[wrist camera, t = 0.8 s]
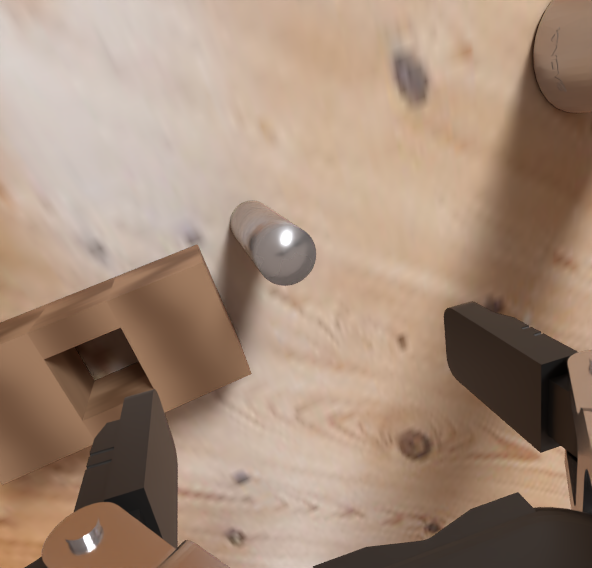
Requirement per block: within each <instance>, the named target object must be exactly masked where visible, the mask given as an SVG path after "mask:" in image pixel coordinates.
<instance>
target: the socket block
mask: <svg viewBox="0 0 592 568" xmlns="http://www.w3.org/2000/svg"><path fill="white" fill-rule="evenodd" d="M119 328H121V329H122V331H123V333H124V334H125V336H126V338H127V340H128V342H129V344H130V346H131V347H132V349H133V351H134V353H135V355H136V357H137V359H138V360H139V362H137V363H135V364H133V365H130V366H128V367H126V368H123V369H121V370H119V371H116V372H114V373H112V374H109V375H107V376H105V377H102V378H100V379H97V380H95V381H94V379H93V377H92V376H91V374H90V372H89V371H88V369H87V367H86V366H85V364H84V362H83V361H82V359H81V357H80V356H79V354H78V352H77V351H76V349H75V346H78V345H80V344H82V343H85V342H87V341H90V340H92V339H95V338H97V337H99V336H102V335H104V334H107V333H109V332H111V331H114V330H116V329H119ZM250 374H251V371H250V368H249V365H248V363H247V360H246V357H245V354H244V352H243V349H242V346H241V344H240V341H239V339H238V336H237V334H236V332H235V330H234V327H233V325H232V323H231V320H230V318H229V316H228V313H227V311H226V309H225V307H224V304H223V302H222V300H221V297H220V295H219V293H218V290H217V288H216V286H215V284H214V281H213V279H212V277H211V274H210V272H209V270H208V267H207V265H206V263H205V261H204V258H203V256H202V254H201V251H200V249H199V247H198V245H195V246H192V247H190V248H187V249H185V250H182V251H180V252H177V253H174V254H172V255H169V256H167V257H164V258H162V259H159V260H157V261H154V262H152V263H149V264H147V265H144V266H142V267H139V268H137V269H134V270H132V271H129V272H127V273H124V274H122V275H119V276H117V277H114V278H112V279H109V280H107V281H104V282H102V283H99V284H97V285H94V286H92V287H89V288H87V289H84V290H82V291H79V292H77V293H74V294H72V295H69V296H67V297H64V298H62V299H59V300H57V301H54V302H51V303H49V304H46V305H44V306H41V307H39V308H36V309H34V310H31V311H29V312H26V313H24V314H21V315H19V316H16V317H14V318H11V319H9V320H6V321H4V322H1V323H0V483H1V484H2V485H4V484H6V483H8V482H10V481H13V480H15V479H17V478H19V477H22V476H24V475H26V474H28V473H31V472H33V471H35V470H37V469H40V468H42V467H44V466H46V465H48V464H51V463H53V462H55V461H57V460H60V459H62V458H64V457H66V456H69V455H71V454H73V453H75V452H78V451H80V450H82V449H84V448H87V447H89V446H91V445H93V441H94V438H95V437H96V436H97V434H98V433H99V432H100V431H101V429H102V428H103V427H104V426H105V424H106V423H108V422H112V421H115V420H119V419H120V416H121V412H122V407H123V402H124V398H125V397H128V396H131V395H135V394H139V393H142V392H146V391H149V390H153V389H155V390H156V391H157V393H158V395H159V398H160V401H161V404H162V407H163V410H164V413H165V412H167V411H169V410H172V409H174V408H176V407H178V406H181V405H183V404H185V403H187V402H190V401H192V400H194V399H196V398H199V397H201V396H203V395H205V394H207V393H210V392H212V391H214V390H216V389H219V388H221V387H223V386H225V385H228V384H230V383H232V382H234V381H237V380H239V379H241V378H243V377H246V376H248V375H250Z"/></svg>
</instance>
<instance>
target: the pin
mask: <svg viewBox="0 0 592 568" xmlns="http://www.w3.org/2000/svg"><path fill="white" fill-rule="evenodd" d="M230 226H231V230H232V232H233V234H234V236H235V237H236V238H237V240H238V241H239V243H240V244H241V245H242V247H243V248H244V250H245V251H246V252H247V254H248V255H249V257H250V258H251V259H252V261H253V262H254V264H255V265H256V266H257V268H258V269H259V271H260V272H261V273H262V275H263V276H264V277H265V278H266V279H267V280H269V281H270V282H272V283H274V284H277V285H284V286H286V285H292V284H295V283H298V282H300V281H301V280H303V279H304V278H305V277H306V276H307V275H308V274H309V273H310V272H311V270H312V268H313V266H314V264H315V260H316V248H315V244H314V242H313V240H312V238H311V237H310V236H309V235H308V234H307V233H306V232H305V231H304V230H302V229H301V228H299V227H298V226H296V225H295V224H293V223H292V222H290V221H288V220H287V219H285V218H284V217H282V216H281V215H279V214H278V213H276V212H275V211H273V210H272V209H270V208H269V207H267V206H266V205H264V204H263V203H261V202H258V201H246V202H243V203H241V204H240V205H238V206H237V207H236V208H235V210H234V211H233V213H232V215H231V219H230Z"/></svg>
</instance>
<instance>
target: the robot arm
mask: <svg viewBox="0 0 592 568" xmlns="http://www.w3.org/2000/svg"><path fill="white" fill-rule="evenodd" d="M533 54H534V70H535V74H536V79H537V82H538V84H539V87H540V89H541V91H542V93H543V94H544V96H545V97H546V98H547V100H548V101H549V102H550V103H551V104H553V105H554V106H555V107H556V108H558V109H561V110H563V111H565V112H571V113H585V112H592V0H552V2H551V3H550V4H549V6H548V7H547V9H546V11H545V13H544V15H543V17H542V19H541V21H540V24H539V27H538V30H537V34H536V37H535V45H534V53H533ZM444 326H445V340H446V354H447V362H448V365H449V368H450V370H451V372H452V374H453V376H454V377H455V378H456V379H457V380H458V381H459V382H460V383H461V384H462V385H463V386H465V387H466V388H467V389H468V390H469V391H470V392H472V393H473V394H474V395H475V396H476V397H477V398H478V399H480V400H481V401H482V402H483V403H484V404H485V405H486V406H488V407H489V408H490V409H491V410H492V411H493V412H494V413H496V414H497V415H498V416H499V417H500V418H501V419H502V420H504V421H505V422H506V423H507V424H508V425H509V426H511V427H512V428H513V429H514V430H515V431H516V432H517V433H519V434H520V435H521V436H522V437H523V438H524V439H525V440H527V441H528V442H529V443H530V444H531V445H532V446H533V447H535V448H536V449H537V450H538V451H539V452H540V453H541V452H544V451H547V450H550V449H553V448H556V447H559V446H562V447H563V448H565V468H566V475H567V483H568V490H569V497H570V504H571V510H570V509H563V508H553V507H538V508H533V507H532V506H531V505H530V504H529V503H528V502H527V501H526V500H525V499H524V498H523V497H522V496H521V495H520V494H519V493H518V492H517V493H514V494H511V495H509V496H506V497H503V498H500V499H498V500H495V501H492V502H489V503H487V504H484V505H481V506H478V507H476V508H473V509H470V510H469V511H468V512H466V513H465V514H463V515H462V516H461V517H459V518H458V519H456V520H455V521H454V522H452V523H451V524H449V525H448V526H446V527H445V528H444V529H442V530H441V531H439V532H438V533H437V534H435V535H434V536H432V537H431V538H429V539H427V540H423V541H416V542H407V543H398V544H389V545H380V546H372V547H365V548H363V549H360V550H357V551H354V552H352V553H349V554H346V555H343V556H340V557H338V558H335V559H332V560H329V561H327V562H324V563H321V564H318V565H316V566H313V568H592V350H586V351H581V352H577V351H575V350H573V349H571V348H570V347H568V346H566V345H564V344H562V343H560V342H558V341H557V340H555V339H553V338H551V337H549V336H547V335H545V334H541V332H540V331H538V330H536V329H534V328H532V327H530V328H529V325H527V324H525V323H523V322H521V321H519V320H518V319H516V318H513V317H510V316H506V315H502V314H498V313H493V312H492V311H490V310H488V309H486V308H484V307H483V306H481V305H479V304H477V303H475V302H468V303H465V304H461V305H457V306H454V307H450V308H447V309H446V310H445V313H444ZM86 467H87V470H85V474H84V477H83V481H82V484H81V488H80V492H79V495H78V499H77V502H76V506H75V510H74V513H72V514H71V515H69V516H68V517H66V518H65V519H64V520H63V521H61V522H60V523H59V524H58V525H57V526H56V527H55V528H54V529H53V531H52V532H51V533H50V534H49V536H48V538H47V539H46V541H45V543H44V546H43V549H42V557H40V558H39V559H38V560H36V561H35V562H33V563H31V564H30V565H28V566H27V567H25V568H230V567H228V566H227V565H226V564H224V563H223V562H221V561H220V560H218V559H217V558H216V557H214V556H213V555H211V554H210V553H209V552H207V551H206V550H204V549H203V548H202V547H200V546H199V545H197V544H196V543H194V542H192V541H189V540H185V541H184V542H183V543H182V544H181V545H180V546H179V547H178V548H177V503H178V464H177V455H176V449H175V445H174V441H173V438H172V435H171V431H170V428H169V425H168V422H167V419H166V416H165V413H164V410H163V407H162V404H161V401H160V398H159V395H158V393H157V391H156V390H155V389H153V390H149V391H146V392H142V393H139V394H135V395H131V396H128V397H125V398H124V402H123V407H122V412H121V416H120V419H119V420H115V421H112V422H108V423H106V424H105V426H104V427H103V428H102V429H101V431H100V432H99V433H98V434H97V436H96V437H95V438H94V441H93V445H92V448H91V452H90V457H89V459H88V463H87V466H86Z"/></svg>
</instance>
